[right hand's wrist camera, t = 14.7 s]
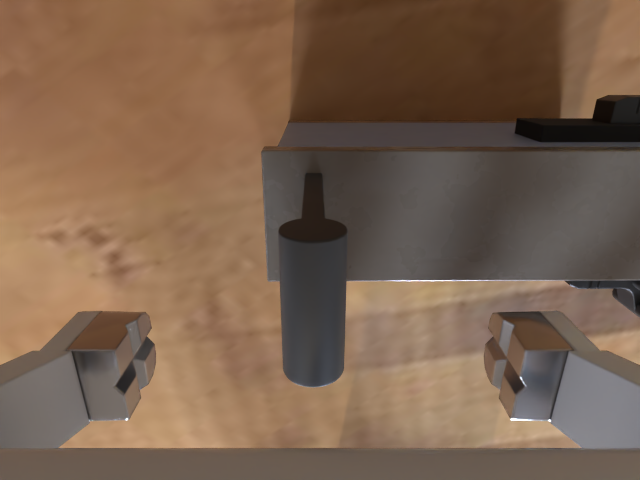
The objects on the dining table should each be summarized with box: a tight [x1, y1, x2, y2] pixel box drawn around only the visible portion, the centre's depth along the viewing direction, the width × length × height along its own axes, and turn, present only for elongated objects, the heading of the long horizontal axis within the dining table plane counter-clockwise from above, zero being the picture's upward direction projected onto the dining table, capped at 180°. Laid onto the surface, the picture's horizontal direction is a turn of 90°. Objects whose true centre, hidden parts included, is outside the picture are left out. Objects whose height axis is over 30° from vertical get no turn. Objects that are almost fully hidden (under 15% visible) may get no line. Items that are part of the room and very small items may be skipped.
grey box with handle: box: [261, 147, 640, 387], centre depth 15 cm, size 17×6×9 cm, turn 90°
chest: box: [278, 121, 640, 147], centre depth 24 cm, size 17×6×9 cm, turn 90°
